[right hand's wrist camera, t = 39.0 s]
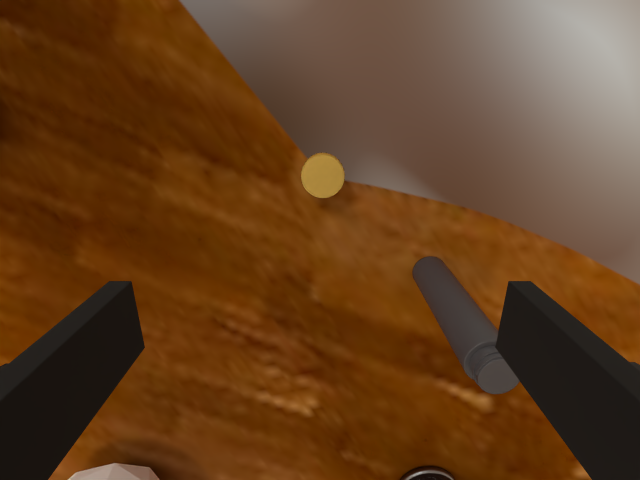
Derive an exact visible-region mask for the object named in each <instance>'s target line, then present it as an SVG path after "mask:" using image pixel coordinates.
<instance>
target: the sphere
mask: <svg viewBox="0 0 640 480" xmlns="http://www.w3.org/2000/svg"><path fill="white" fill-rule="evenodd" d="M68 480H160V479H159V478H158V477H157V476H156V474H155V473H154V472H153V471H152V470H151V468H150V467H143V466H135V465H127V464H119V463H113V464H109V465H105V466H100V467H96V468H92V469H88V470H84V471H80V472H76V473H75V474H74V475H73V476H71V477H70V478H69V479H68Z"/></svg>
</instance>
